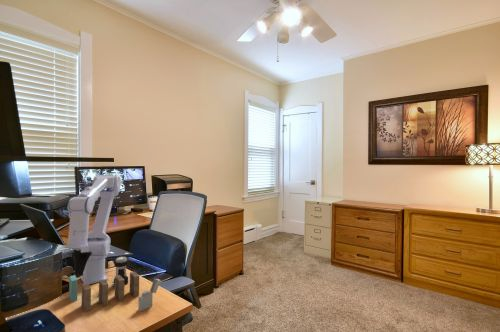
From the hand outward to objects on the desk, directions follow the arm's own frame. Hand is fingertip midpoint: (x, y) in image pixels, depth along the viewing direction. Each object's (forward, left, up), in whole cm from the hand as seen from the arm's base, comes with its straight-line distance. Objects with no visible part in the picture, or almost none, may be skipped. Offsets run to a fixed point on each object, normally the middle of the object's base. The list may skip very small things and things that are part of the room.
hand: (75, 272), depth 91 cm
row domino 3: (+9, +12, -9) cm, 17 cm away
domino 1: (-1, 0, -9) cm, 9 cm away
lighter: (+20, +18, -10) cm, 29 cm away
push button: (-2, +15, -10) cm, 18 cm away
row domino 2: (+9, +7, -9) cm, 14 cm away
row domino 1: (+9, +2, -9) cm, 13 cm away
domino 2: (+9, +17, -9) cm, 21 cm away
